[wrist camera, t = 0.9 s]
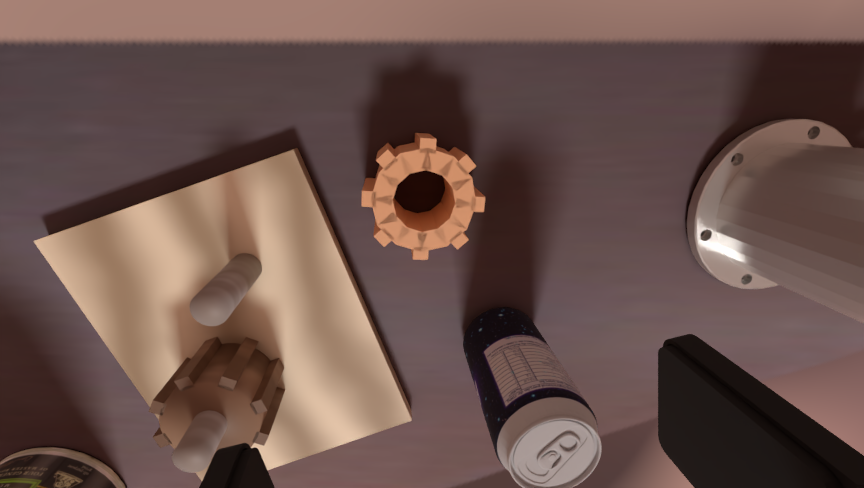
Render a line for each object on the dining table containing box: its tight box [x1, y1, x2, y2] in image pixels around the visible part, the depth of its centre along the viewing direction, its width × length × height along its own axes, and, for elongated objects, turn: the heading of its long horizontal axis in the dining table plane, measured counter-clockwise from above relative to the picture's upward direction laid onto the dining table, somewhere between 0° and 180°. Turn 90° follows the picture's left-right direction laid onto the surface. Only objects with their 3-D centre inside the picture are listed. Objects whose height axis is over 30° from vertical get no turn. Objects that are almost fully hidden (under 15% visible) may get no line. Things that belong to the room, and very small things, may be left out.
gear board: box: [34, 148, 412, 481], centre depth 27 cm, size 17×22×8 cm
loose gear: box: [362, 133, 485, 260], centre depth 26 cm, size 7×7×4 cm
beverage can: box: [463, 308, 602, 488], centre depth 27 cm, size 6×6×12 cm
